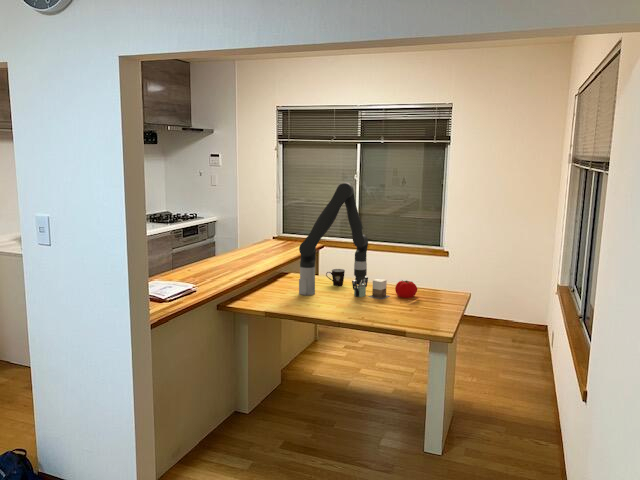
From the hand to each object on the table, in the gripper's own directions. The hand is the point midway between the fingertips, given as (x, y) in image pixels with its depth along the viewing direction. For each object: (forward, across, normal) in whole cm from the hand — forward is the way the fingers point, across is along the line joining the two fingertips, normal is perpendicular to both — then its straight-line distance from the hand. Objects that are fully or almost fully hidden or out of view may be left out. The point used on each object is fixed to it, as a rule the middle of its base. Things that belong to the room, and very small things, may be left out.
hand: (359, 295), depth 323 cm
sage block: (+1, 0, 0) cm, 1 cm away
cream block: (-5, +6, -10) cm, 13 cm away
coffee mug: (+1, +14, +29) cm, 32 cm away
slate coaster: (+1, +6, -10) cm, 12 cm away
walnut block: (0, +6, -10) cm, 12 cm away
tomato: (+1, +17, -22) cm, 28 cm away
